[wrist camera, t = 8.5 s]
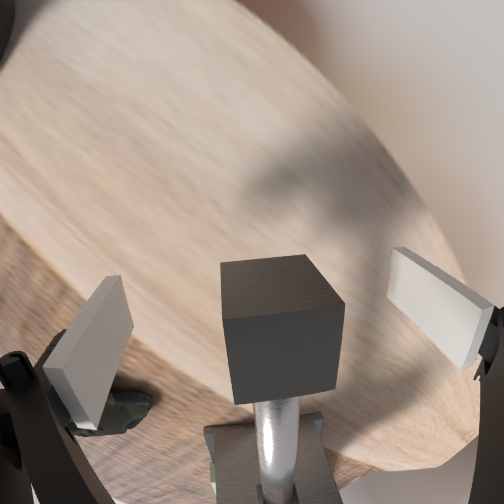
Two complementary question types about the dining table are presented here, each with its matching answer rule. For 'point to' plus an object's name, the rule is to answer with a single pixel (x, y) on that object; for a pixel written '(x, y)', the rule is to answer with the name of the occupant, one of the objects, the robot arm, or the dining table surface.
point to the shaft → (279, 352)
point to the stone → (117, 414)
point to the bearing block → (248, 471)
